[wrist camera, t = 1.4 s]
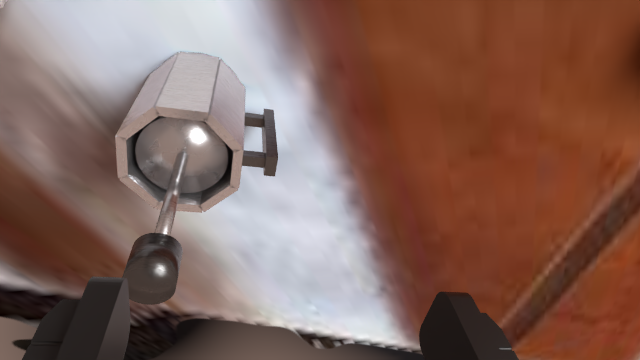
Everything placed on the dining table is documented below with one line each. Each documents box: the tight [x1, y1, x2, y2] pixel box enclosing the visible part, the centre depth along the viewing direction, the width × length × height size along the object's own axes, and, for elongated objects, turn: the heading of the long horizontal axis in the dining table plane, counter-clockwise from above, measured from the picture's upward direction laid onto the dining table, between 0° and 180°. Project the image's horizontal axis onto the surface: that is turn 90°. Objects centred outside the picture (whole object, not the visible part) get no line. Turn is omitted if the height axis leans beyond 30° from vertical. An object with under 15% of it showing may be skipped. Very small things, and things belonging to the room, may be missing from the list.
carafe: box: [115, 52, 278, 213], centre depth 42 cm, size 10×13×14 cm
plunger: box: [122, 116, 228, 304], centre depth 31 cm, size 8×8×15 cm
